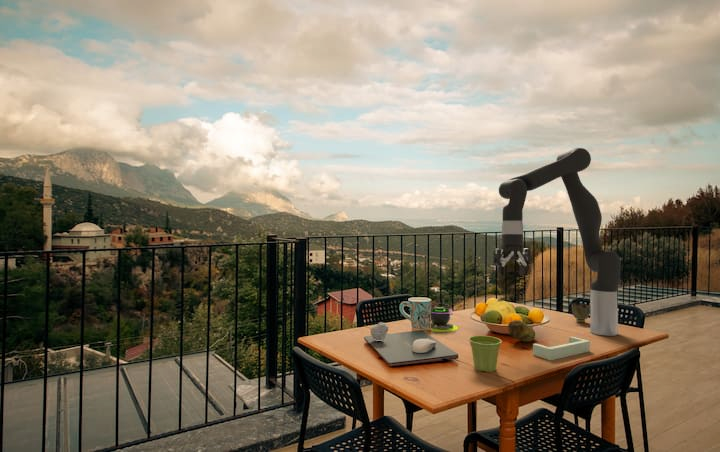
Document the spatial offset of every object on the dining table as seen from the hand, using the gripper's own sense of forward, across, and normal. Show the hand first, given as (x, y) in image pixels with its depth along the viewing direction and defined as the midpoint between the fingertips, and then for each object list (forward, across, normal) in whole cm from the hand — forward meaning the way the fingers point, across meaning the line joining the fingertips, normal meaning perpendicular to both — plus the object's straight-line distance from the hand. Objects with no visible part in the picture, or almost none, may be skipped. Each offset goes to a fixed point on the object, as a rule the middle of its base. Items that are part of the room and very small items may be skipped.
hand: (512, 276), depth 152 cm
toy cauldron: (+24, +18, -24) cm, 39 cm away
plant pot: (+24, +27, +25) cm, 44 cm away
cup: (+24, -48, -17) cm, 56 cm away
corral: (+24, -6, +18) cm, 30 cm away
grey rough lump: (+24, +49, -10) cm, 55 cm away
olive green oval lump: (+24, -3, +3) cm, 24 cm away
